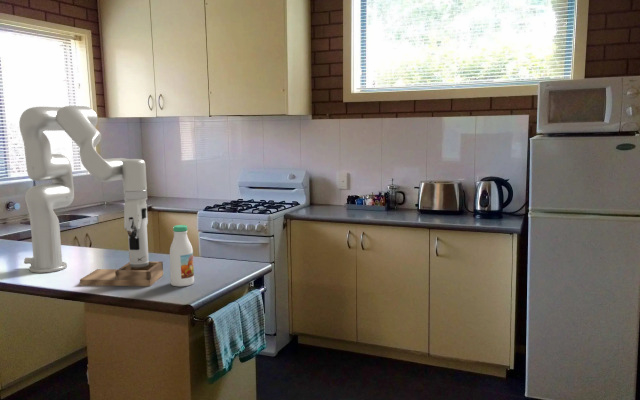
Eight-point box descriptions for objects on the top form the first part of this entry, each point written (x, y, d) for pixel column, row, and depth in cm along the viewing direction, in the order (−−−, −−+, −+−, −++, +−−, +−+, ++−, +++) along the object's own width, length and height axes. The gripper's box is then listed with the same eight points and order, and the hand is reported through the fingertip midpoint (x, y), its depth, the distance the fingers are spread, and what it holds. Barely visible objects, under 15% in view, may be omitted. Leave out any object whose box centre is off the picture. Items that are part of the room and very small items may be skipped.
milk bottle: (172, 288, 180) (170, 228, 177) (169, 282, 187) (166, 224, 184) (196, 285, 183) (194, 226, 180) (191, 279, 190) (189, 223, 187)
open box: (80, 285, 184) (79, 270, 183) (97, 274, 197) (96, 261, 196) (150, 286, 183) (149, 271, 182) (163, 275, 196) (162, 261, 195)
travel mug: (143, 268, 185) (140, 210, 182) (126, 267, 186) (122, 209, 183) (153, 263, 191) (150, 207, 188) (135, 262, 192) (132, 206, 189)
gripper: (134, 192, 194) (137, 241, 196) (114, 199, 177) (117, 253, 179) (155, 192, 194) (157, 241, 196) (136, 199, 176) (139, 253, 179)
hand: (138, 246), depth 188 cm, fingers closed on travel mug, 6 cm apart
